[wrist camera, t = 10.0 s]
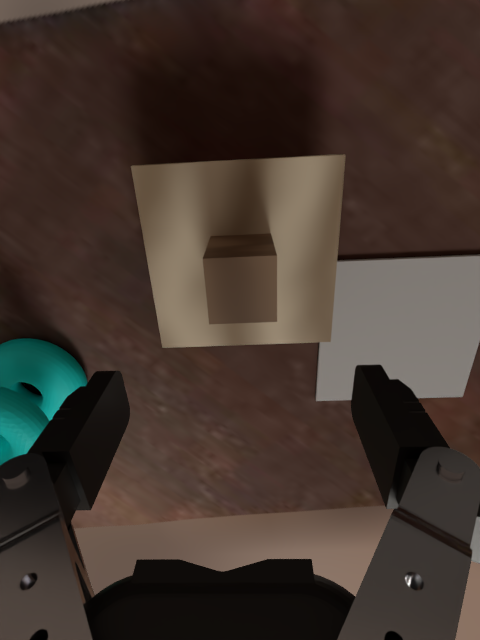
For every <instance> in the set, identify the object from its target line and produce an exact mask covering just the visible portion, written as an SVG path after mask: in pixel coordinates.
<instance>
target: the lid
mask: <svg viewBox="0 0 480 640" xmlns="http://www.w3.org/2000/svg"><path fill="white" fill-rule="evenodd" d="M344 168H345V155H344V154H334V155H316V156H297V157H278V158H259V159H240V160H221V161H202V162H184V163H165V164H146V165H133V166H131V170H132V175H133V181H134V187H135V193H136V198H137V204H138V210H139V215H140V221H141V227H142V233H143V238H144V244H145V250H146V256H147V261H148V267H149V273H150V279H151V284H152V290H153V296H154V302H155V307H156V313H157V319H158V325H159V330H160V336H161V342H162V348H171V347H199V346H227V345H255V344H284V343H312V342H331V332H332V319H333V307H334V294H335V281H336V269H337V256H338V244H339V231H340V218H341V206H342V193H343V180H344Z"/></svg>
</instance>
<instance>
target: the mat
mask: <svg viewBox="0 0 480 640" xmlns="http://www.w3.org/2000/svg"><path fill="white" fill-rule="evenodd" d="M479 341H480V254H479V255H454V256H429V257H405V258H380V259H356V260H337V269H336V281H335V294H334V307H333V319H332V332H331V342H319V349H318V365H317V380H316V396H315V399H316V401H331V400H351V399H352V391H353V382H354V374H355V368H356V366H357V365H378V364H380V365H381V366H382V367H383V369H384V370H385V372H386V374H387V375H388V377H389V379H399V380H400V381H401V382H403V383H404V384H405V385H407V386H408V387H409V388H411V389H412V391H413V392H414V394H415V395H416V397H417V398H438V397H463V394H464V390H465V387H466V384H467V381H468V377H469V374H470V371H471V367H472V364H473V361H474V358H475V354H476V351H477V348H478V344H479Z"/></svg>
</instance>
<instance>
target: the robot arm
mask: <svg viewBox="0 0 480 640" xmlns="http://www.w3.org/2000/svg"><path fill="white" fill-rule="evenodd" d="M351 411H352V417H353V421H354V423H355V426H356V429H357V431H358V434H359V437H360V439H361V442H362V445H363V447H364V450H365V453H366V455H367V458H368V461H369V463H370V466H371V469H372V471H373V474H374V477H375V479H376V482H377V485H378V487H379V490H380V493H381V496H382V498H383V501H384V504H385V506H386V508H387V509H394V510H393V512H392V514H391V516H390V519H389V521H388V524H387V526H386V528H385V530H384V533H383V535H382V537H381V539H380V542H379V544H378V546H377V549H376V551H375V553H374V556H373V558H372V560H371V563H370V565H369V567H368V570H367V572H366V574H365V576H364V579H363V581H362V583H361V586H360V588H359V590H358V592H357V595H356V597H355V596H354V595H353V594H351V593H350V592H348V591H347V590H346V589H344V588H343V587H341V586H340V585H338V584H336V583H335V582H333V581H331V580H328V579H326V578H324V577H321V576H318V575H315V574H314V573H313V566H312V560H311V559H267V560H264V561H260V562H257V563H254V564H250V565H246V566H243V567H239V568H236V569H233V570H229V571H225V572H220V571H216V570H212V569H209V568H206V567H203V566H199V565H195V564H193V563H189V562H186V561H183V560H137V561H136V565H135V569H134V573H133V575H132V576H129V577H126V578H124V579H122V580H119V581H117V582H115V583H113V584H112V585H110V586H108V587H106V588H105V589H103V590H102V591H100V592H99V593H98V594H96V595H95V594H94V591H93V589H92V586H91V583H90V580H89V577H88V573H87V571H86V567H85V564H84V560H83V557H82V554H81V551H80V548H79V544H78V541H77V538H76V535H75V531H74V528H73V525H72V522H71V520H72V518H73V515H74V513H75V511H76V510H91V509H92V506H93V504H94V502H95V499H96V497H97V495H98V492H99V490H100V488H101V485H102V483H103V481H104V478H105V476H106V474H107V471H108V469H109V467H110V464H111V462H112V460H113V457H114V455H115V453H116V450H117V448H118V446H119V444H120V441H121V439H122V437H123V434H124V432H125V430H126V427H127V425H128V422H129V417H130V407H129V402H128V398H127V394H126V390H125V386H124V382H123V377H122V374H121V372H120V371H97V372H95V373H94V374H93V376H92V377H91V379H90V380H89V382H88V383H87V385H86V386H80V387H79V388H78V389H76V390H75V391H74V392H72V393H71V394H70V395H69V396H67V398H66V399H65V400H64V402H63V403H62V405H61V406H60V407H59V410H57V412H56V413H55V414H54V416H53V419H52V420H50V421H49V423H48V424H47V426H46V427H45V428H44V430H43V431H42V433H41V434H40V435H39V437H38V438H37V440H36V441H35V442H34V444H33V445H32V447H31V448H30V449H29V451H28V452H27V454H23V455H19V456H17V457H14V458H12V459H10V460H8V461H6V462H5V463H3V464H2V465H0V640H455V638H456V632H457V628H458V622H459V618H460V613H461V608H462V603H463V599H464V594H465V589H466V584H467V579H468V574H469V569H470V564H471V561H473V562H476V563H480V468H479V467H478V465H477V464H476V463H475V462H474V461H473V460H471V459H470V458H469V457H467V456H466V455H464V454H462V453H461V452H458V451H456V450H453V449H450V447H449V446H448V444H447V443H446V441H445V440H444V438H443V437H442V435H441V434H440V432H439V431H438V429H437V427H436V426H435V424H434V423H433V421H432V420H431V418H430V417H429V415H428V414H427V413H425V409H424V408H423V406H422V405H421V403H419V400H418V398H417V397H416V395H415V394H414V392H413V391H412V389H411V388H409V387H408V386H407V385H405V384H404V383H403V382H401V381H400V380H399V379H389V377H388V375H387V374H386V372H385V370H384V369H383V367H382V366H381V365H380V364H378V365H357V366H356V368H355V374H354V382H353V391H352V399H351Z"/></svg>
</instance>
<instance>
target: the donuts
mask: <svg viewBox="0 0 480 640" xmlns="http://www.w3.org/2000/svg"><path fill="white" fill-rule="evenodd" d="M21 382H25V383H28V384H31V385H33V386H35V387H36V388H37V389H38V390H39V391H40V392H41V394H42V396H41V395H37V394H34V393H32V392H30V391H29V390H27V389H26V388H25V387H24V386H23V385H22V384H21ZM86 385H87V378H86V375H85V373H84V371H83V369H82V367H81V366H80V364H79V363H78V362H77V361H76V359H75V358H74V357H73V356H71V355H70V354H69V353H68V352H66V351H65V350H64V349H62V348H60V347H58V346H57V345H54V344H52V343H50V342H47V341H43V340H39V339H32V338H22V339H14V340H10V341H7V342H5V343H2V344H0V465H2V464H3V463H5V462H6V461H8V460H10V459H12V458H14V457H17V456H19V455H23V454H27V452H28V451H29V449H30V448H31V447H32V445H33V444H34V442H35V441H36V440H37V438H38V437H39V435H40V434H41V433H42V431H43V430H44V428H45V427H46V426H47V424H48V423H49V421H50V420H52V419H53V416H54V414H55V413H56V412H57V410H59V407H60V406H61V405H62V403H63V402H64V400H65V399H66V398H67V396H69V395H70V394H71V393H72V392H74V391H75V390H76V389H78V388H79V387H80V386H86Z"/></svg>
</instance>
